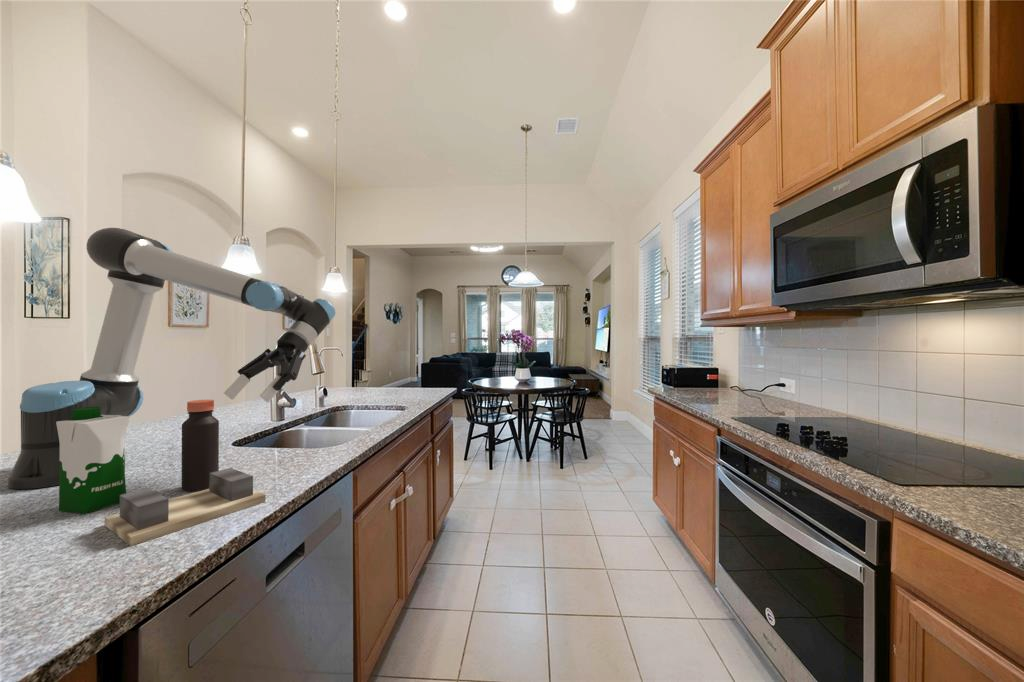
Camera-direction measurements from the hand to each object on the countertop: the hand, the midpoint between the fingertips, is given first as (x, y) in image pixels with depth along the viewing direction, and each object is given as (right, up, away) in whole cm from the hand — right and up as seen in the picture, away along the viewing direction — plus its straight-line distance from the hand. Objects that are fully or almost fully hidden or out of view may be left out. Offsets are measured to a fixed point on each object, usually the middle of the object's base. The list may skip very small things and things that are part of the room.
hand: (245, 397), depth 100 cm
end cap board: (+5, -19, -24) cm, 31 cm away
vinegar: (-4, -20, -10) cm, 22 cm away
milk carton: (-17, -19, -20) cm, 33 cm away
